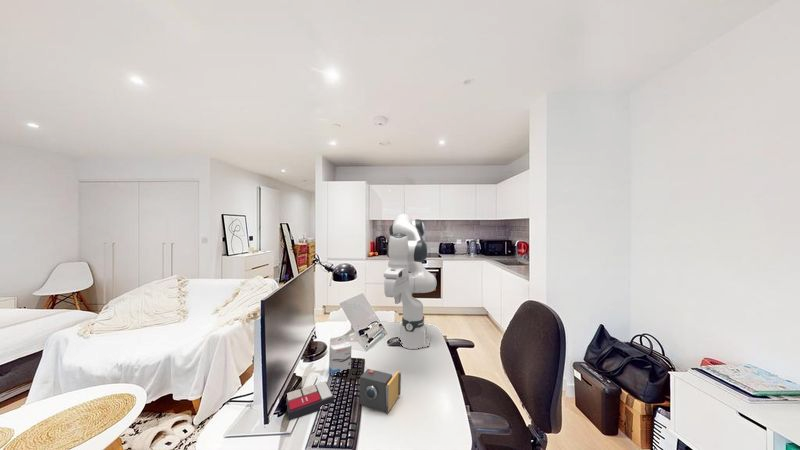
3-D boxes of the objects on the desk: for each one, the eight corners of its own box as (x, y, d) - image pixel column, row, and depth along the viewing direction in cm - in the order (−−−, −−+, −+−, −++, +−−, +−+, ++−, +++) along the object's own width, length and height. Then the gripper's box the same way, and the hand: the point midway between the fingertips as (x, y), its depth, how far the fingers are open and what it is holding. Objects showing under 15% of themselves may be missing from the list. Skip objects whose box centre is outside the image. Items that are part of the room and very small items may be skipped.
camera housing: (367, 395, 100) (368, 367, 101) (391, 402, 97) (392, 372, 97) (357, 407, 93) (358, 377, 94) (383, 415, 90) (383, 383, 90)
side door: (396, 394, 100) (397, 370, 101) (400, 395, 100) (400, 371, 100) (384, 412, 90) (385, 386, 90) (388, 414, 90) (389, 387, 90)
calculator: (284, 392, 96) (326, 379, 104) (285, 404, 96) (326, 390, 104) (288, 410, 87) (334, 394, 94) (289, 423, 87) (334, 406, 94)
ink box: (332, 377, 112) (333, 342, 112) (328, 372, 116) (329, 338, 117) (351, 371, 117) (352, 338, 117) (347, 366, 121) (347, 334, 121)
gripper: (400, 267, 126) (399, 296, 126) (381, 273, 107) (381, 308, 107) (412, 268, 124) (412, 298, 123) (396, 275, 105) (395, 310, 104)
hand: (397, 303), depth 115 cm, fingers closed
